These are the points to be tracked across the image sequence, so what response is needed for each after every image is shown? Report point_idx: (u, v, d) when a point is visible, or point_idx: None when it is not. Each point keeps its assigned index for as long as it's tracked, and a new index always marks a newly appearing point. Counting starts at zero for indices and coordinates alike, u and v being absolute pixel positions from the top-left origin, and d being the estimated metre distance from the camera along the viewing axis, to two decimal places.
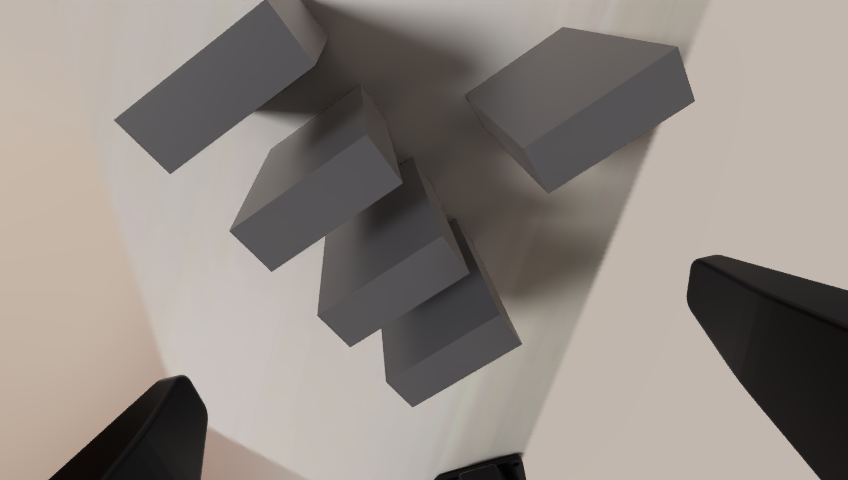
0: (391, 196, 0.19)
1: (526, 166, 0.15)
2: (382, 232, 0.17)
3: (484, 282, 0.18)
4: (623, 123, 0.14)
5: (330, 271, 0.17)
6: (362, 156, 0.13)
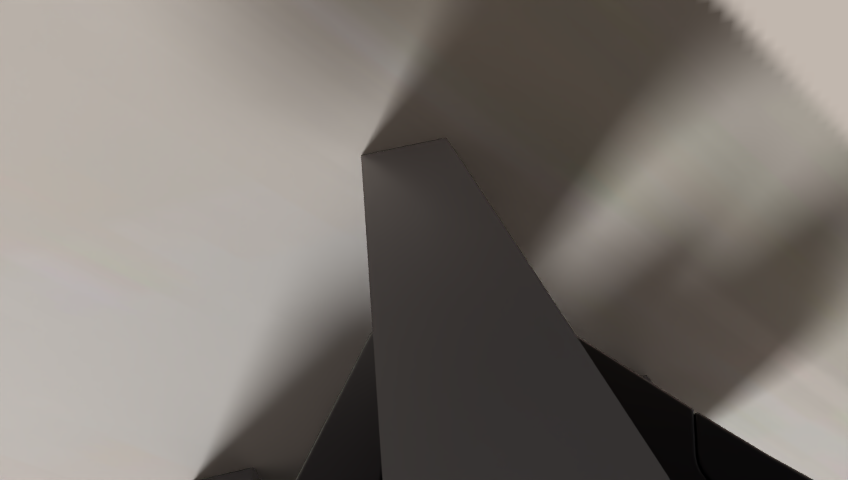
0: None
1: None
2: None
3: None
4: None
5: None
6: None
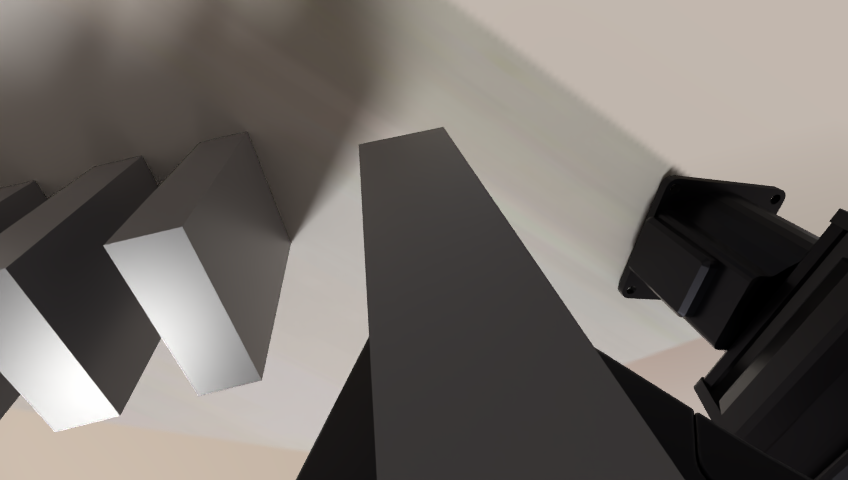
0: None
1: None
2: None
3: (141, 207, 0.12)
4: None
5: None
6: None
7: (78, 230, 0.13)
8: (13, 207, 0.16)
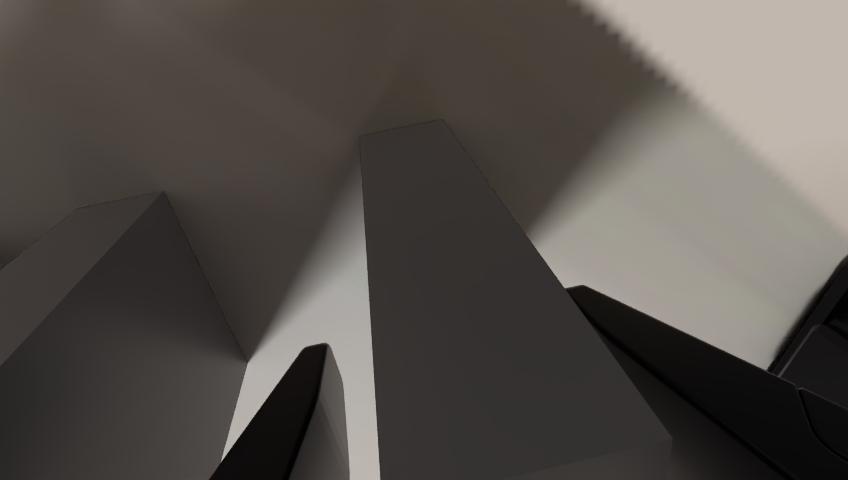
0: None
1: None
2: None
3: None
4: None
5: None
6: None
7: None
8: None
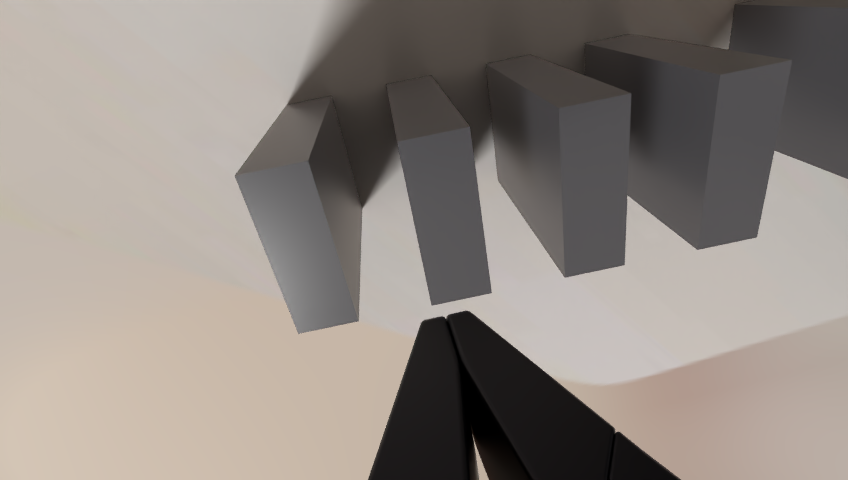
0: (507, 116, 0.16)
1: None
2: (530, 156, 0.15)
3: (670, 64, 0.13)
4: None
5: (538, 228, 0.15)
6: (418, 156, 0.11)
7: None
8: None
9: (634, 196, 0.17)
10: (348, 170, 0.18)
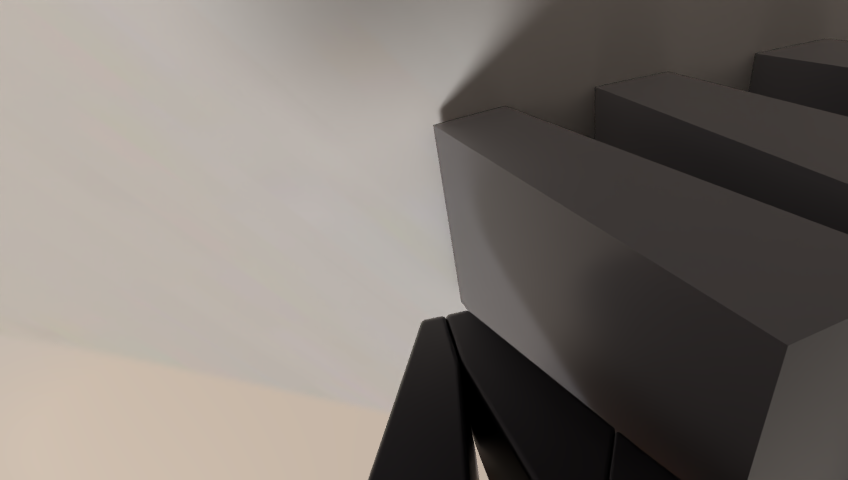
0: None
1: None
2: None
3: None
4: None
5: None
6: None
7: None
8: None
9: None
10: None
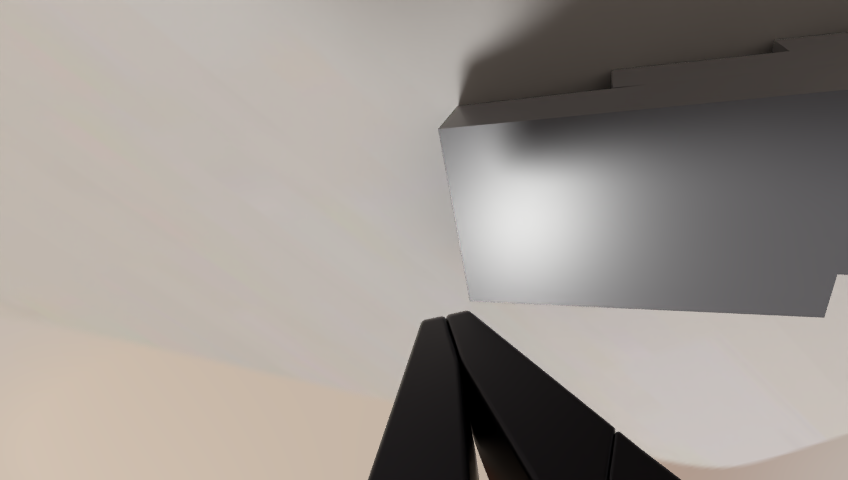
0: None
1: None
2: None
3: None
4: None
5: None
6: None
7: None
8: None
9: None
10: None
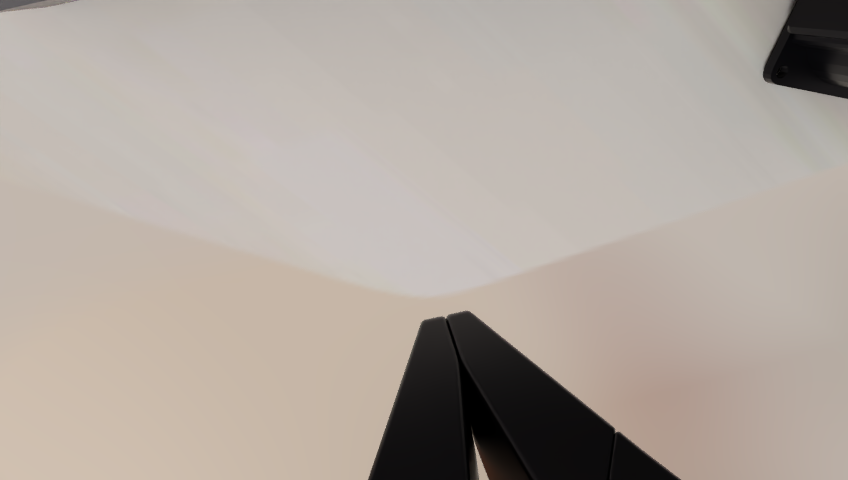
0: None
1: None
2: None
3: None
4: None
5: None
6: None
7: None
8: None
9: None
10: None
